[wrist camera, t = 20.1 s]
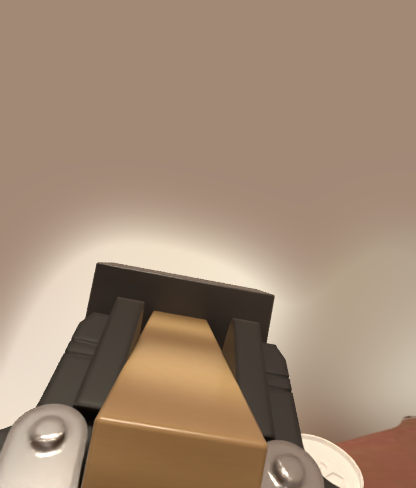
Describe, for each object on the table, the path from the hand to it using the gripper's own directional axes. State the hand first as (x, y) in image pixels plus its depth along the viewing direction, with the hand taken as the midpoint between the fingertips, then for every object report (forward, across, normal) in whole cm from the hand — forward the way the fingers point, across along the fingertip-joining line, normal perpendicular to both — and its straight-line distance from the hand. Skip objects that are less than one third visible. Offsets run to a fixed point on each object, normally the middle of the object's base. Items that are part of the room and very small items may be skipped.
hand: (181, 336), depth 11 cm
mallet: (+1, 0, +4) cm, 4 cm away
